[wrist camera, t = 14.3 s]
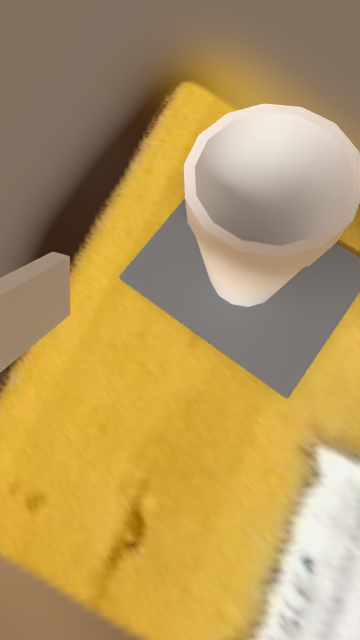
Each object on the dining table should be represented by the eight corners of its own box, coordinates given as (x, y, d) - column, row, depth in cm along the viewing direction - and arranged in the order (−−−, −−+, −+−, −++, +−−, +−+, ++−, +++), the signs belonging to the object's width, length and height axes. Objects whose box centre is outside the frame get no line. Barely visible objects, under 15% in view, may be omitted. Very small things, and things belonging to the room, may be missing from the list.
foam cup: (191, 229, 32) (181, 110, 20) (291, 222, 31) (347, 96, 19) (195, 327, 30) (187, 262, 17) (304, 321, 29) (379, 251, 16)
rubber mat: (372, 270, 31) (376, 266, 30) (286, 398, 28) (288, 397, 27) (209, 174, 34) (209, 169, 34) (121, 279, 32) (119, 276, 31)
